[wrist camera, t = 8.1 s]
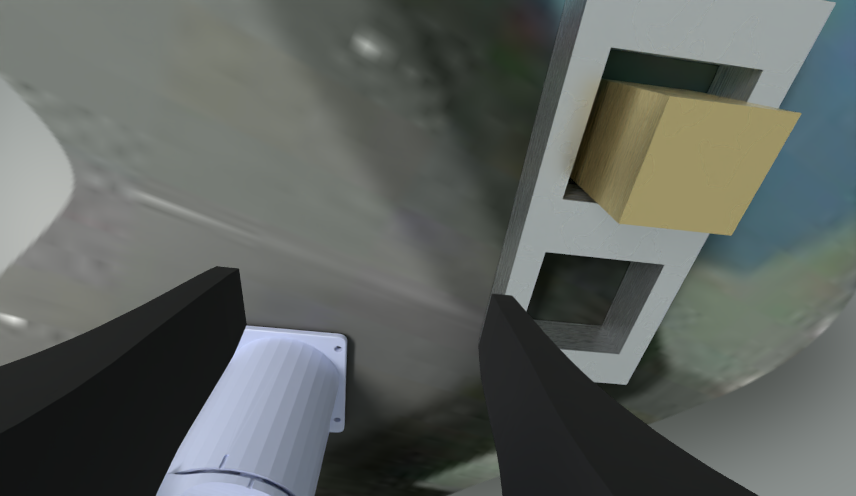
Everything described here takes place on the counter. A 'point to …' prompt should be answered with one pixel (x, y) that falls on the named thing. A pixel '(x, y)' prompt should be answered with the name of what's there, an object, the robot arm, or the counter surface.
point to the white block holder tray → (563, 130)
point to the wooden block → (677, 155)
